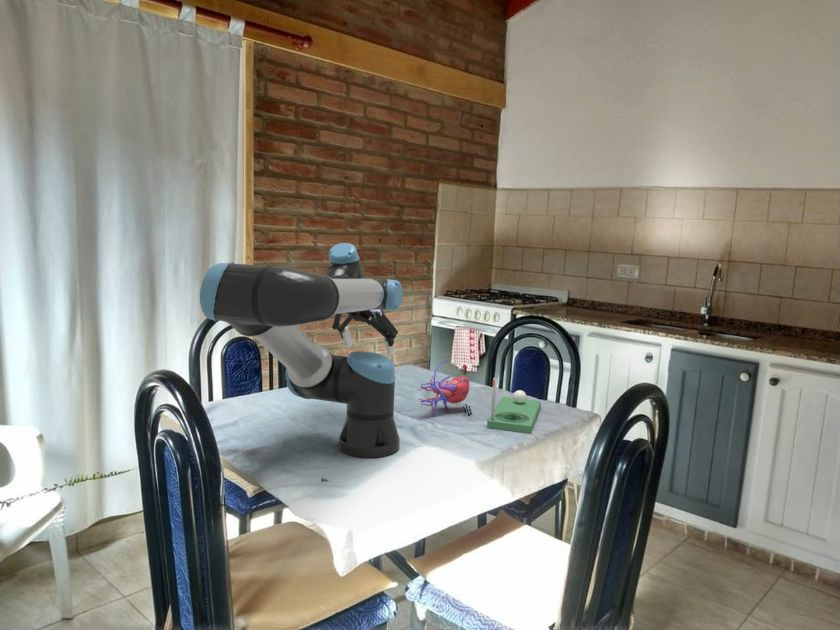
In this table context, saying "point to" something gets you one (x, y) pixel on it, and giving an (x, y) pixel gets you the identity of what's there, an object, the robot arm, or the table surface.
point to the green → (513, 414)
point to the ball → (519, 396)
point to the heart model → (448, 390)
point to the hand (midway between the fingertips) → (370, 349)
